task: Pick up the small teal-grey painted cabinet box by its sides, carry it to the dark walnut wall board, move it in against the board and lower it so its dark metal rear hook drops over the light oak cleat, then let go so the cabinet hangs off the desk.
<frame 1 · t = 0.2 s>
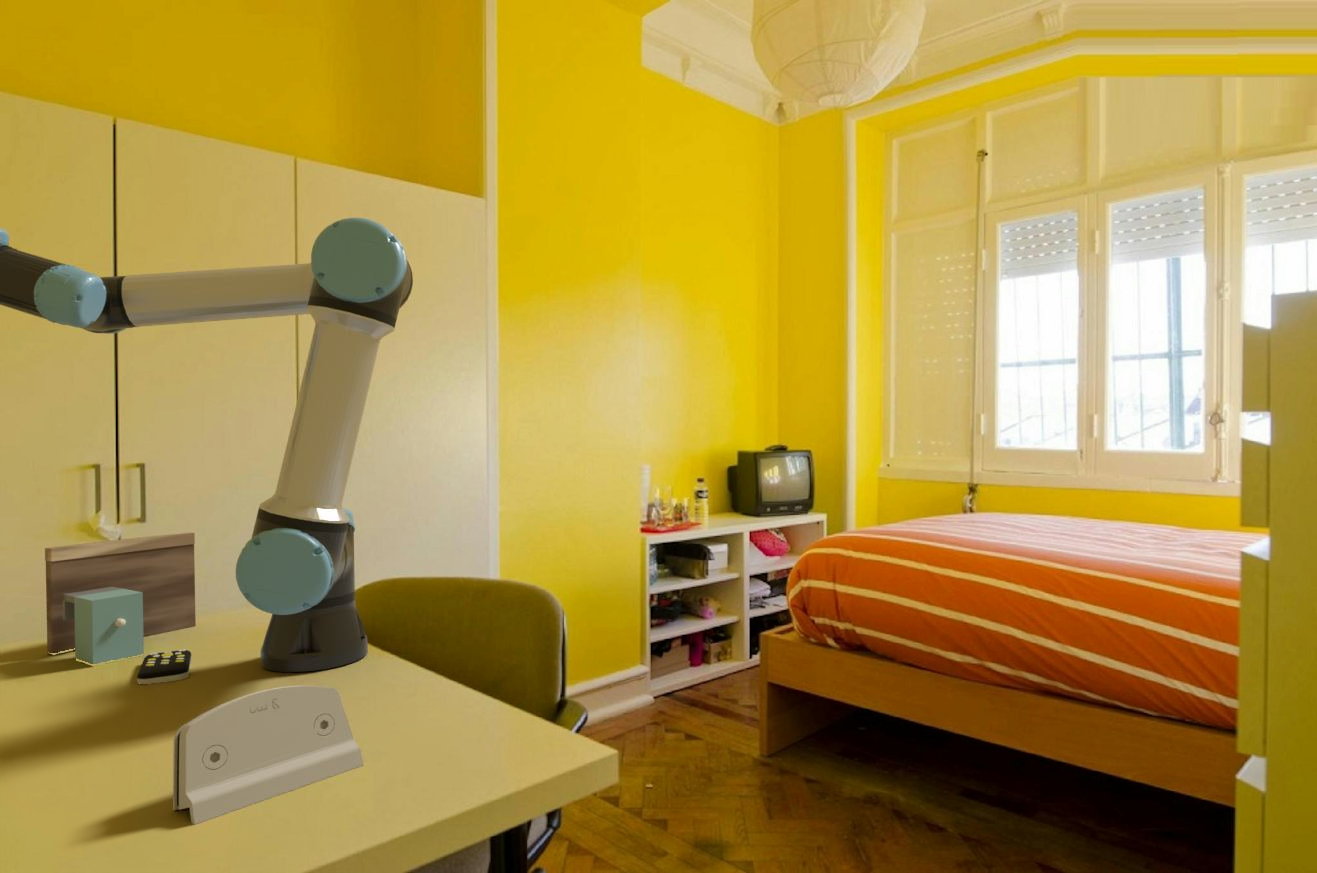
grey mounting bracket: (268, 785, 78), on the table
wall board: (126, 639, 135), on the table
cabinet: (110, 658, 123), on the table
remote control: (165, 675, 116), on the table
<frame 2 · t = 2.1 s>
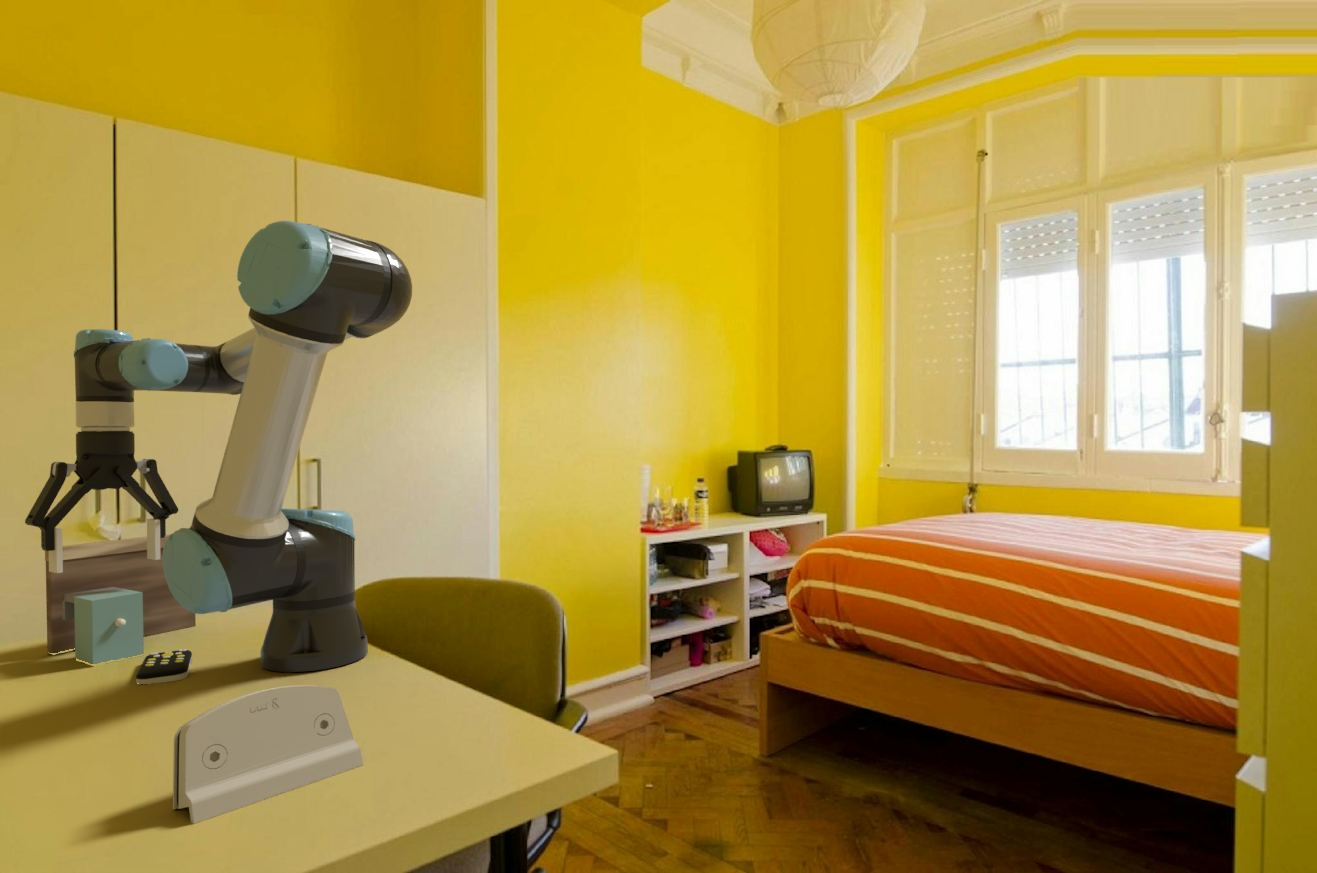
hand: (107, 565, 123), 14 cm above the table, tool pointing down, fingers open, 13 cm apart
nothing on the table moved.
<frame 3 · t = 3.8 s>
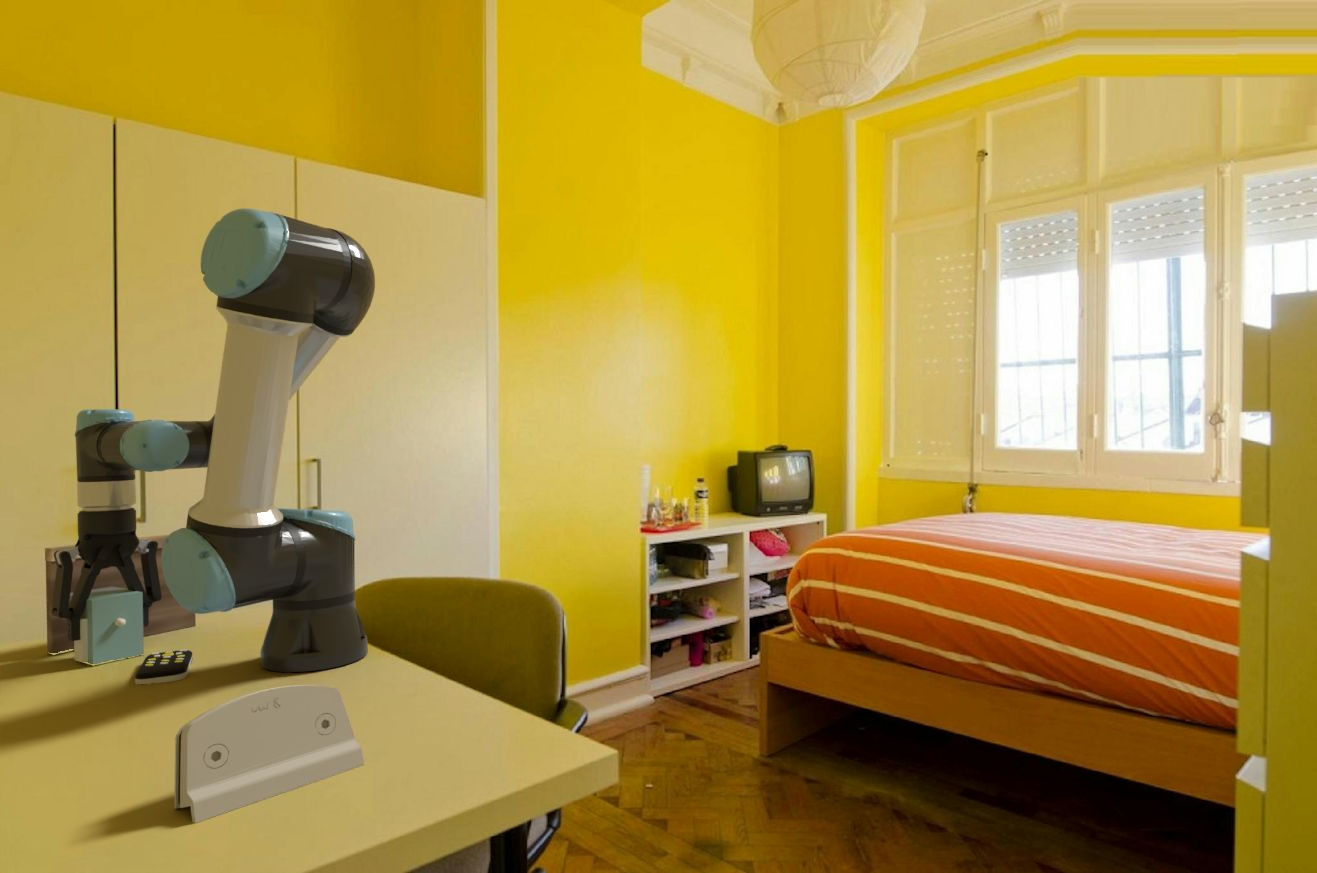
hand: (109, 654, 123), 1 cm above the table, tool pointing down, fingers closed on cabinet, 7 cm apart
cabinet: (109, 658, 123), on the table, touching gripper
everything else where it was.
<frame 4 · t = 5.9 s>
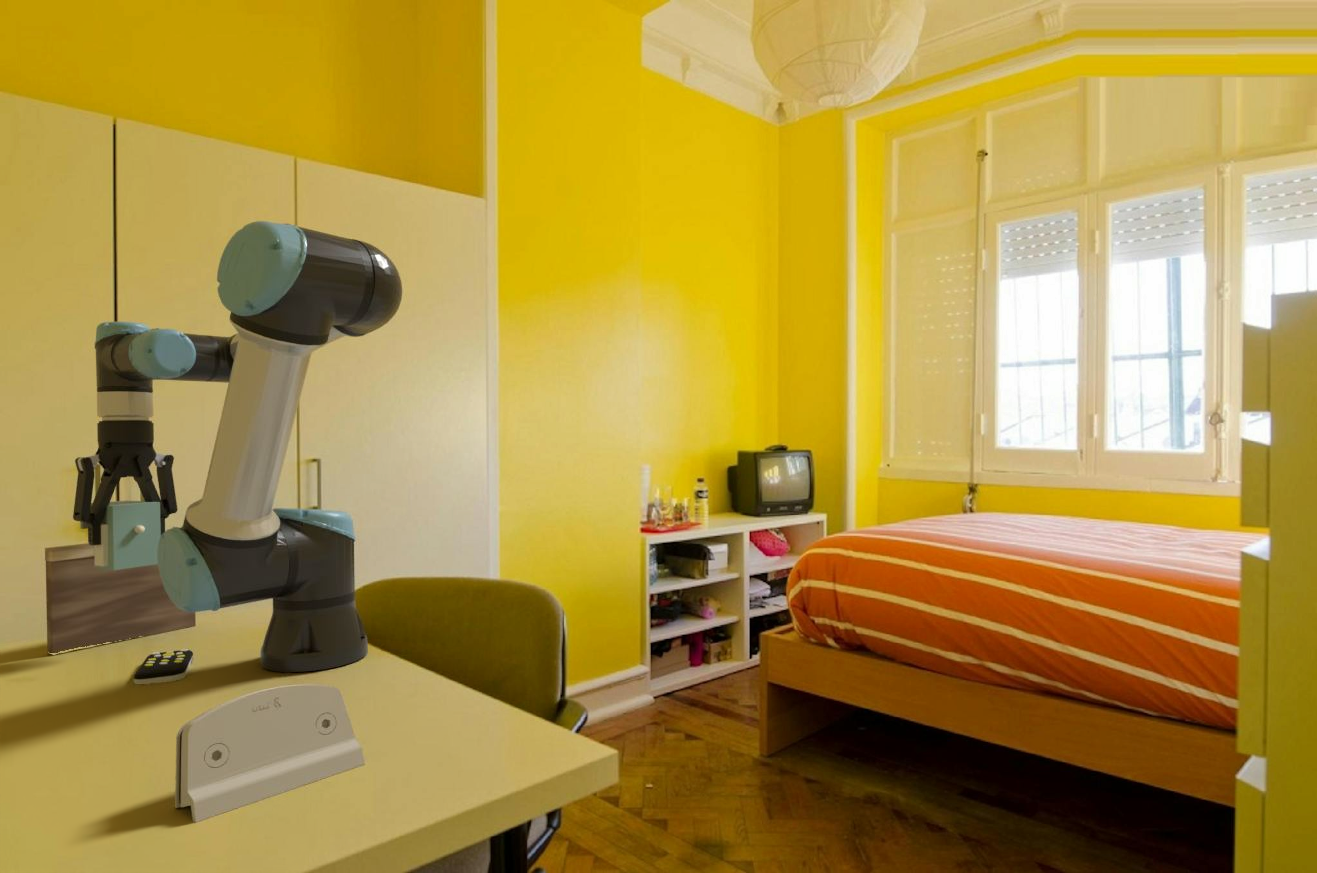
hand: (128, 561, 127), 14 cm above the table, tool pointing down, fingers closed on cabinet, 7 cm apart
cabinet: (128, 565, 127), point 14 cm above the table, touching gripper
everything else where it was.
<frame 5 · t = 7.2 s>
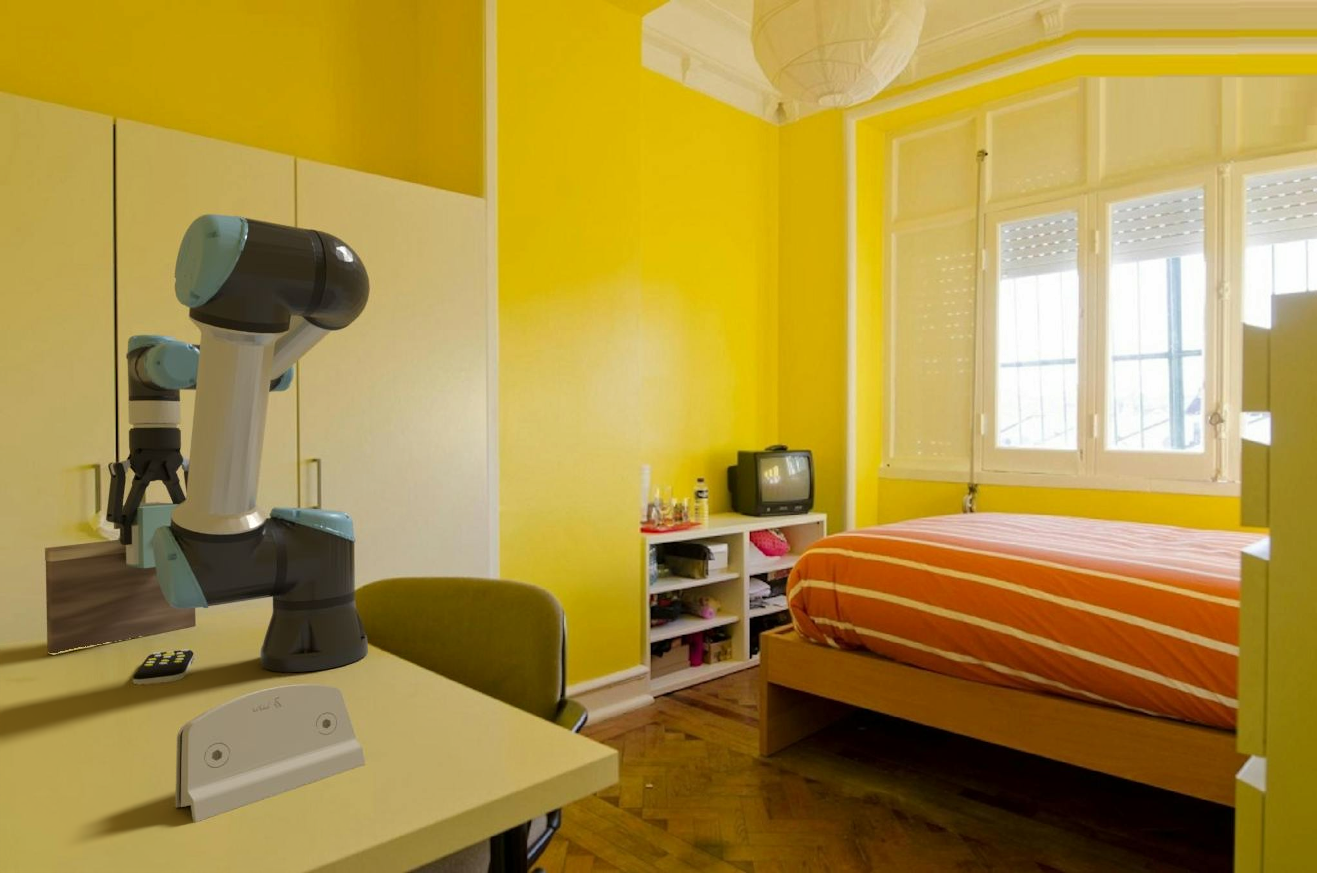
hand: (157, 560, 135), 13 cm above the table, tool pointing down, fingers closed on cabinet, 7 cm apart
cabinet: (157, 563, 135), point 13 cm above the table, touching gripper
everything else where it was.
when the fingers open (10 cm above the table, at t = 8.3 s): cabinet drops 1 cm, resting on wall board.
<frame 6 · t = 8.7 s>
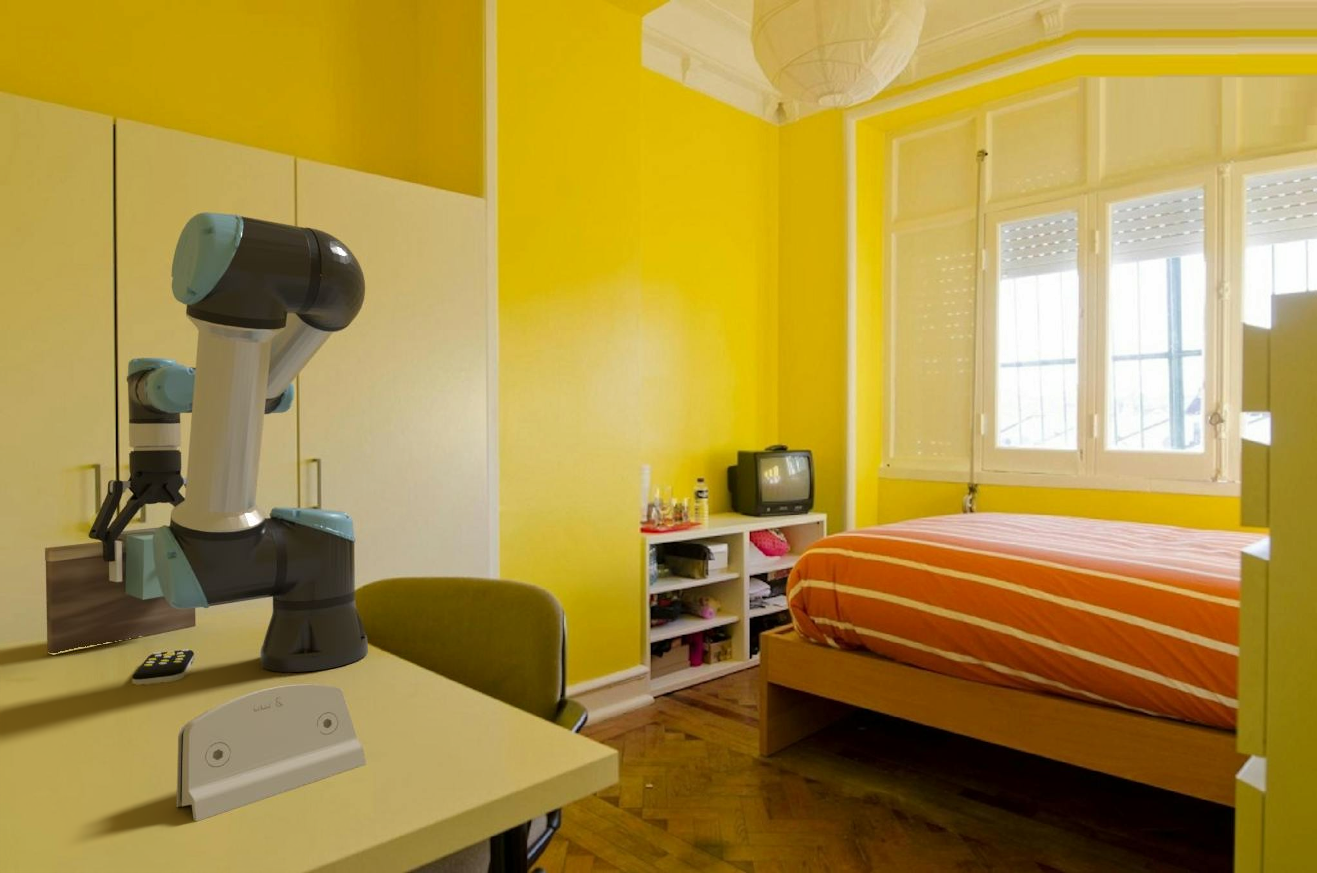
hand: (157, 574, 135), 11 cm above the table, tool pointing down, fingers open, 12 cm apart
cabinet: (156, 592, 135), point 8 cm above the table, touching wall board
everything else where it was.
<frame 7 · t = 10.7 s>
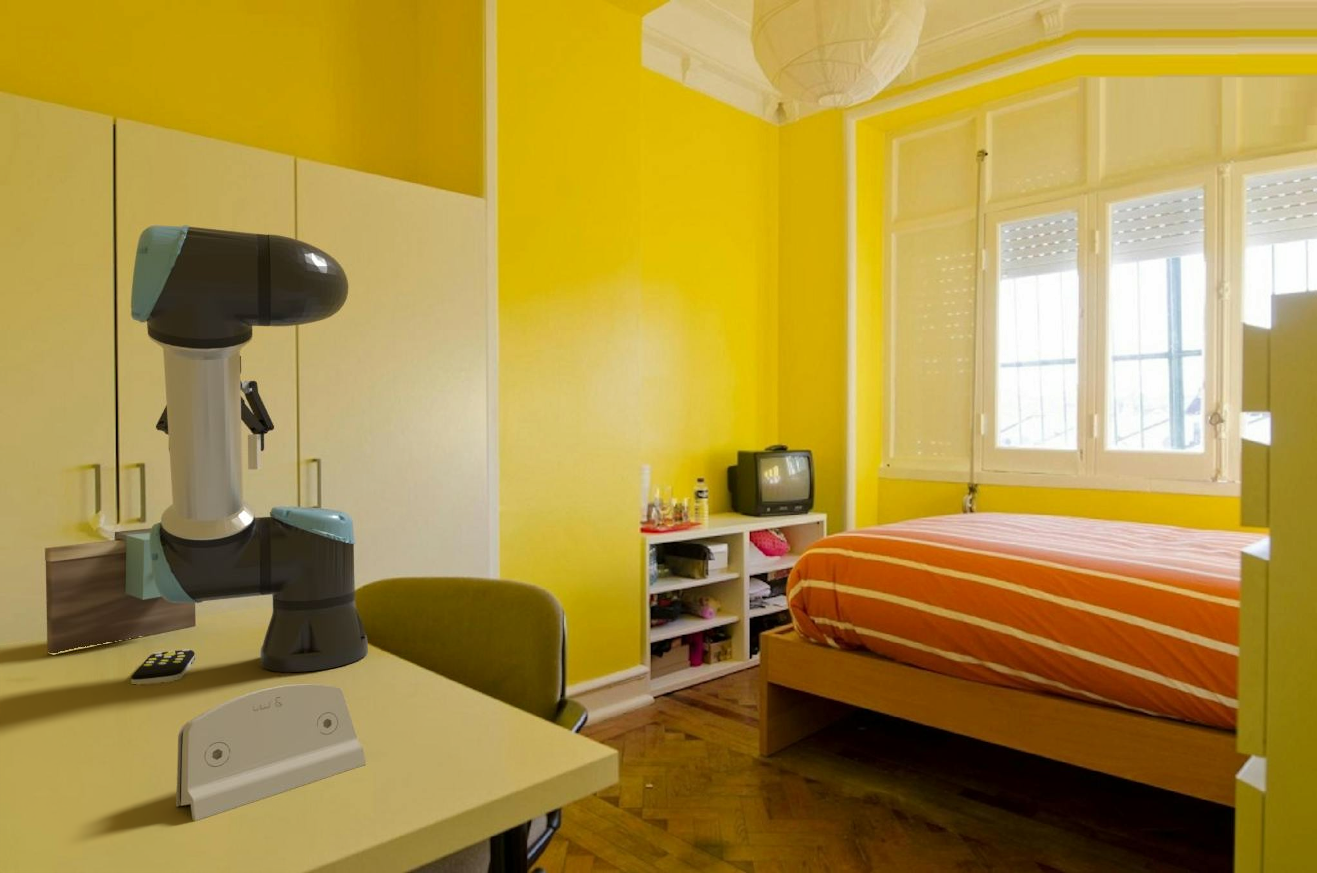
hand: (219, 471, 141), 28 cm above the table, tool pointing down, fingers open, 13 cm apart
nothing on the table moved.
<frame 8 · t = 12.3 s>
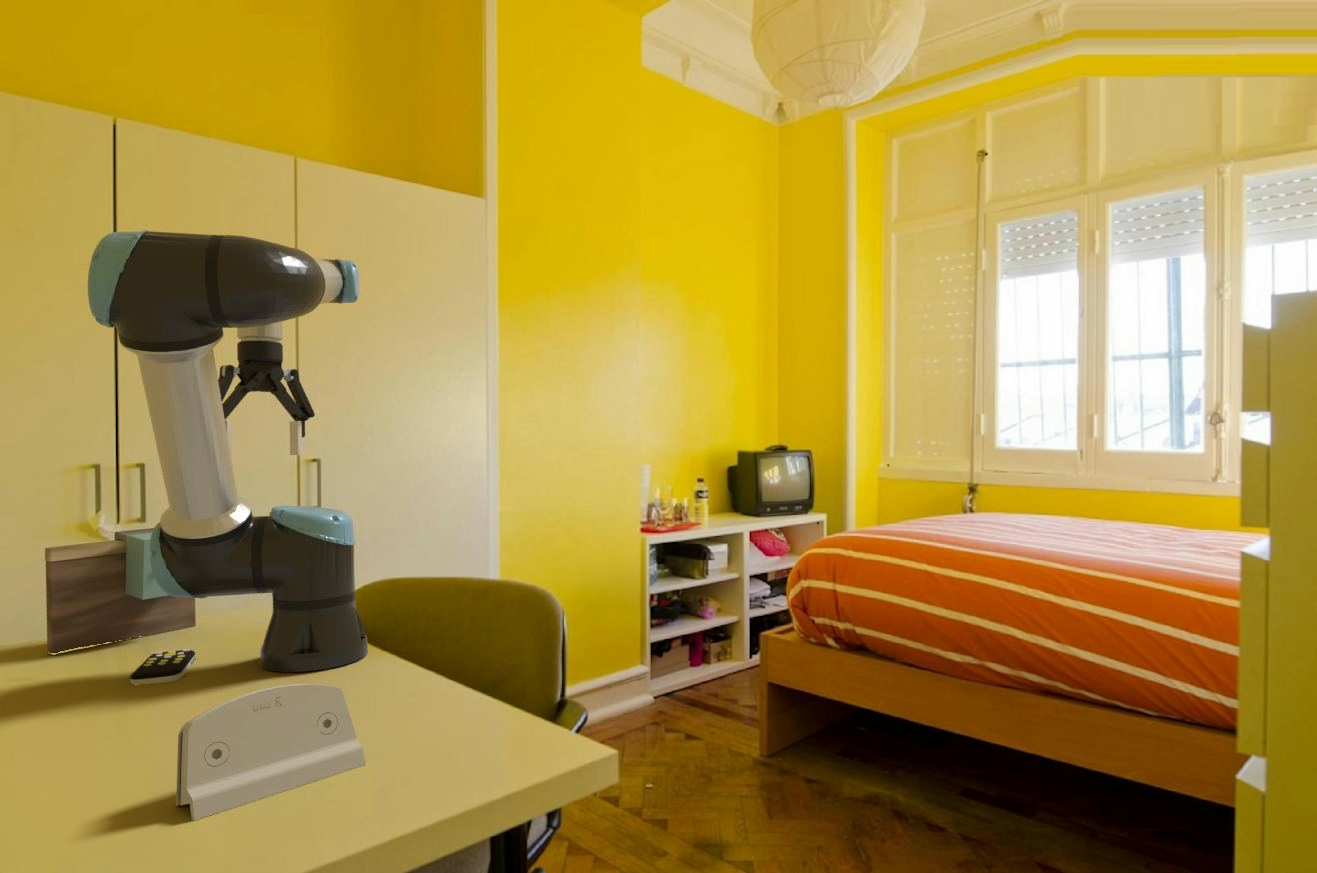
hand: (262, 456, 146), 31 cm above the table, tool pointing down, fingers open, 13 cm apart
nothing on the table moved.
at the end: cabinet inside the target area on the wall board (3.2 cm from its centre), point 7.8 cm above the wall board's base; cabinet tilted 4°; the gripper is holding nothing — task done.
